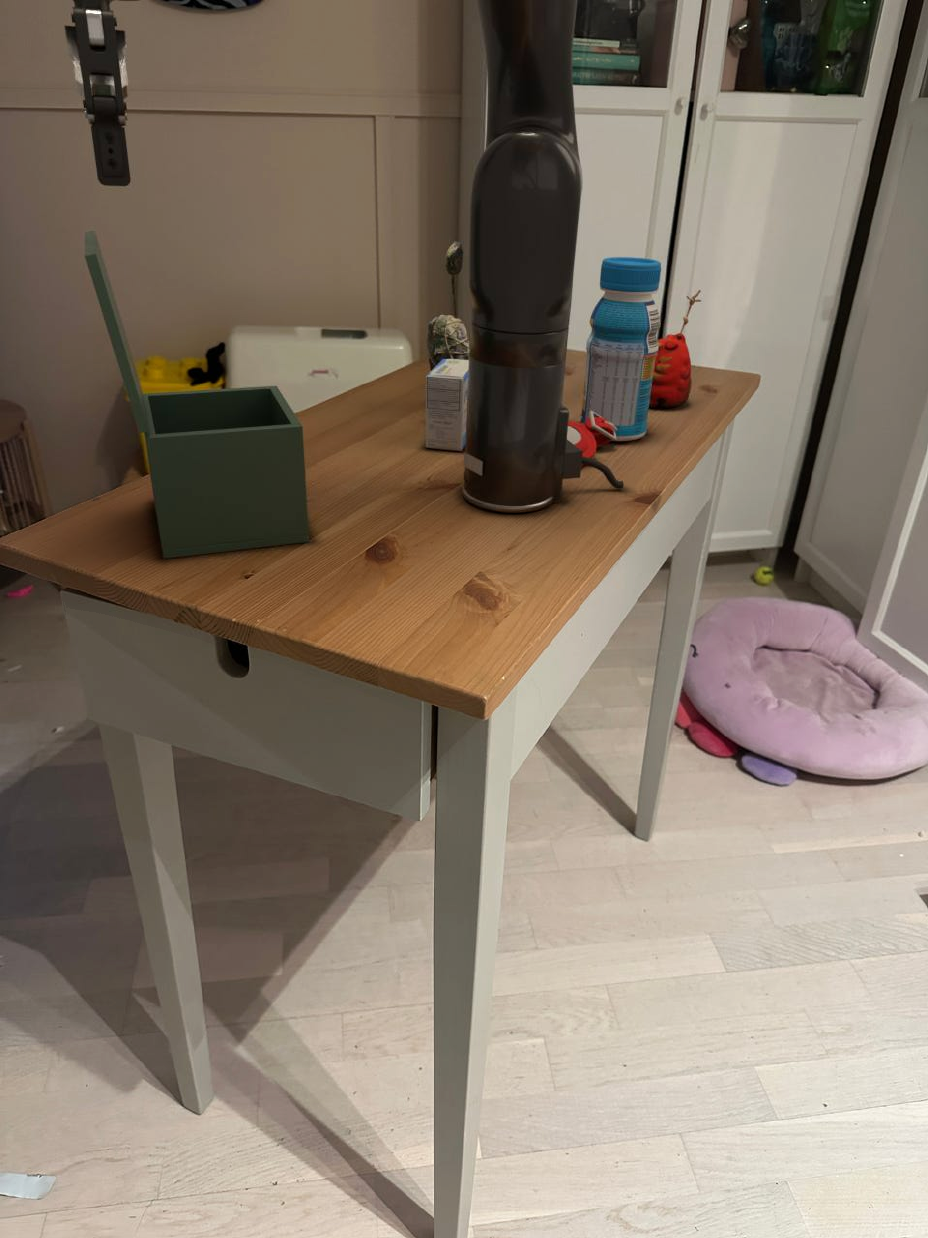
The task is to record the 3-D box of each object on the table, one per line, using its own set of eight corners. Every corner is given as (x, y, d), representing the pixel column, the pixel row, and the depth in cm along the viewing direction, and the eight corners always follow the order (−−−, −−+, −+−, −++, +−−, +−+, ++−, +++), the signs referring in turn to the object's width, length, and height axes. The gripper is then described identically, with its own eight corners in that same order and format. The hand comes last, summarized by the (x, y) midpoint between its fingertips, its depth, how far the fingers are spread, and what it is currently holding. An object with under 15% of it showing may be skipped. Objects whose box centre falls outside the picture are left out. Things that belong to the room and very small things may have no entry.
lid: (94, 230, 73) (84, 231, 73) (95, 253, 63) (84, 255, 63) (141, 387, 81) (132, 389, 80) (149, 431, 71) (139, 433, 70)
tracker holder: (581, 466, 96) (503, 428, 99) (572, 497, 99) (497, 459, 102) (629, 415, 103) (555, 381, 106) (619, 446, 107) (548, 412, 109)
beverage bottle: (595, 445, 105) (613, 264, 96) (567, 425, 112) (582, 255, 103) (659, 440, 107) (683, 264, 98) (628, 421, 114) (648, 255, 105)
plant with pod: (405, 411, 115) (406, 245, 104) (454, 392, 123) (459, 236, 113) (457, 424, 111) (463, 253, 101) (504, 403, 119) (514, 243, 109)
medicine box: (461, 452, 102) (464, 377, 98) (424, 448, 103) (425, 373, 98) (474, 431, 109) (478, 360, 104) (439, 428, 109) (441, 356, 105)
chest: (284, 490, 90) (276, 385, 85) (309, 542, 80) (302, 425, 75) (154, 503, 86) (138, 393, 81) (163, 559, 76) (145, 437, 71)
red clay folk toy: (634, 393, 126) (649, 282, 118) (684, 396, 125) (703, 285, 118) (638, 409, 119) (654, 292, 112) (691, 412, 119) (711, 295, 111)
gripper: (144, -101, 54) (172, 191, 62) (135, -71, 66) (160, 173, 74) (9, -119, 52) (57, 188, 60) (24, -84, 63) (63, 170, 72)
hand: (114, 179), depth 67 cm, fingers open, 8 cm apart
